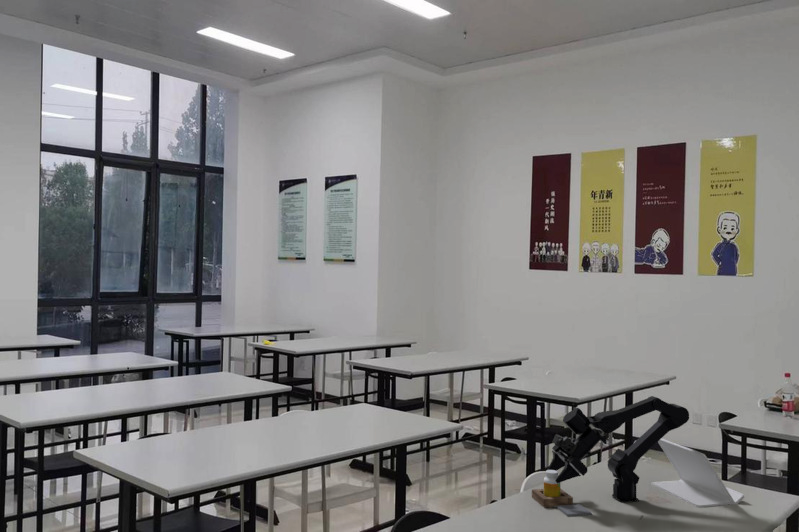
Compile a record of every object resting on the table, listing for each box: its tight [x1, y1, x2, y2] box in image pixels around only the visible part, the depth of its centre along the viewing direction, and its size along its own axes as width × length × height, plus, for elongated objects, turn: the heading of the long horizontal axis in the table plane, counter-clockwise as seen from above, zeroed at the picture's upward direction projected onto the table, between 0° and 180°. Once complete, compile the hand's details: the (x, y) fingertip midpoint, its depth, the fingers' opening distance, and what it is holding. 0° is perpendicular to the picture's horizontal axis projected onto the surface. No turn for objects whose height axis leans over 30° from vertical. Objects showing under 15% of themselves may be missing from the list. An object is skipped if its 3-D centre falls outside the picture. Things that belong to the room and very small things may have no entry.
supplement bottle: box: [543, 470, 561, 497], centre depth 219 cm, size 5×5×10 cm
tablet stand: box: [651, 437, 745, 508], centre depth 228 cm, size 18×25×17 cm
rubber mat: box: [556, 503, 593, 517], centre depth 209 cm, size 8×8×1 cm
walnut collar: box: [531, 487, 574, 508], centre depth 218 cm, size 10×10×2 cm
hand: (551, 477), depth 219 cm, fingers open, 9 cm apart
